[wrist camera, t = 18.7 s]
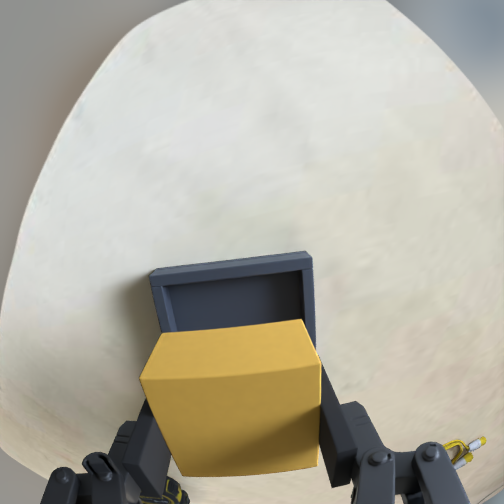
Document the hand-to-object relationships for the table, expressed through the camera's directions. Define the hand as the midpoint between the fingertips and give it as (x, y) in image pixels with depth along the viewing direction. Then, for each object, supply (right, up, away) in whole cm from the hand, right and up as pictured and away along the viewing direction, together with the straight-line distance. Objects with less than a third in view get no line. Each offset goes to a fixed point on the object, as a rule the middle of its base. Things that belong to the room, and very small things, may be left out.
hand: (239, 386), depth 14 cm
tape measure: (-11, -22, +13) cm, 28 cm away
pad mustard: (0, 0, 0) cm, 0 cm away
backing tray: (0, -2, +9) cm, 9 cm away
